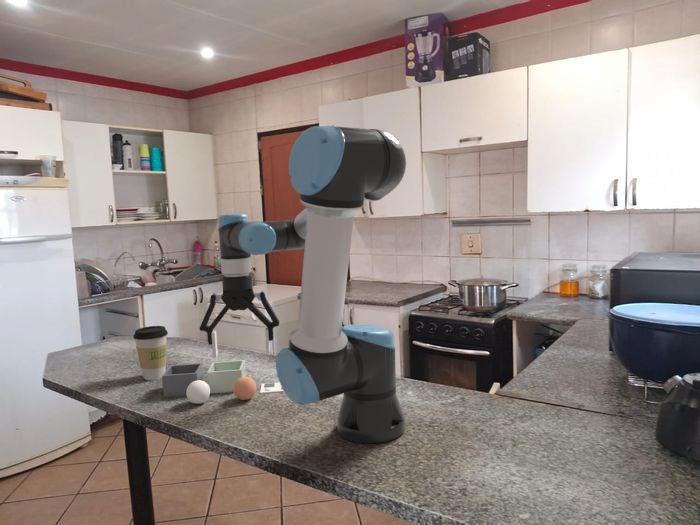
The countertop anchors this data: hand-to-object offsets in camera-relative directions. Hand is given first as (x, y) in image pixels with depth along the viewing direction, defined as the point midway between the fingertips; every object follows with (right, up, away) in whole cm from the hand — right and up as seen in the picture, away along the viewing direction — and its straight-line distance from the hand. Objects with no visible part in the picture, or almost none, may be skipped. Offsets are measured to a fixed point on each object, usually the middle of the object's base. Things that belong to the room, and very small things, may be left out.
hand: (242, 354), depth 133 cm
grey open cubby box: (-18, -12, +10) cm, 24 cm away
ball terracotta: (+1, -9, +1) cm, 9 cm away
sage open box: (-6, -11, +11) cm, 17 cm away
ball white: (-11, -10, 0) cm, 15 cm away
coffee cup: (-32, -11, +23) cm, 41 cm away
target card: (+8, -11, +9) cm, 16 cm away
